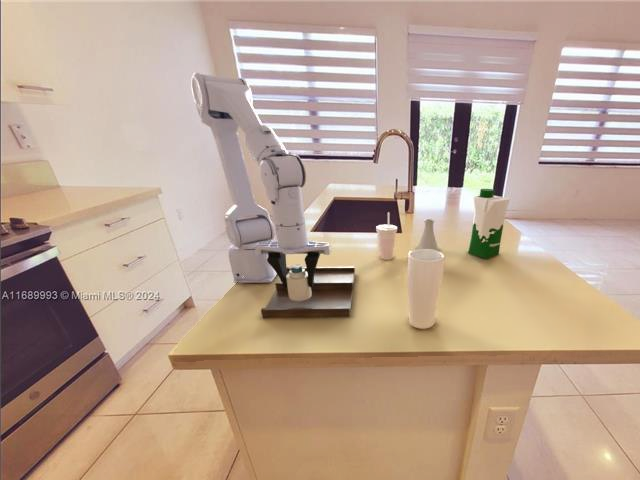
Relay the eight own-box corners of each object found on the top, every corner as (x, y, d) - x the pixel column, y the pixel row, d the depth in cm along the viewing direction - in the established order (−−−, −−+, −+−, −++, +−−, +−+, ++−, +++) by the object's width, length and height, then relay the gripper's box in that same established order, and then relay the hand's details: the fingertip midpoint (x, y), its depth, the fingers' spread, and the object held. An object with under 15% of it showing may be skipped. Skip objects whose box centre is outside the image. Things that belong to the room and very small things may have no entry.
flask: (441, 249, 106) (444, 219, 102) (432, 255, 101) (434, 224, 96) (423, 245, 110) (424, 216, 105) (412, 250, 104) (414, 220, 99)
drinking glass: (428, 336, 61) (434, 264, 54) (399, 325, 64) (401, 255, 57) (443, 320, 66) (450, 253, 59) (415, 311, 69) (419, 246, 62)
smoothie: (394, 262, 95) (395, 215, 88) (373, 260, 96) (373, 214, 89) (398, 255, 100) (399, 210, 94) (379, 253, 101) (379, 209, 95)
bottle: (286, 301, 67) (281, 271, 63) (291, 291, 71) (287, 262, 68) (309, 301, 67) (305, 270, 64) (313, 290, 71) (310, 262, 68)
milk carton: (480, 247, 109) (489, 187, 99) (503, 255, 102) (514, 191, 93) (464, 252, 104) (471, 189, 94) (486, 260, 97) (497, 194, 88)
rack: (262, 318, 65) (260, 306, 64) (287, 276, 84) (285, 267, 82) (349, 316, 66) (349, 305, 65) (355, 276, 85) (354, 266, 84)
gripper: (244, 228, 57) (258, 294, 64) (324, 228, 58) (330, 293, 65) (257, 218, 63) (268, 279, 70) (329, 219, 65) (334, 279, 71)
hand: (298, 285), depth 68 cm, fingers closed on bottle, 5 cm apart
